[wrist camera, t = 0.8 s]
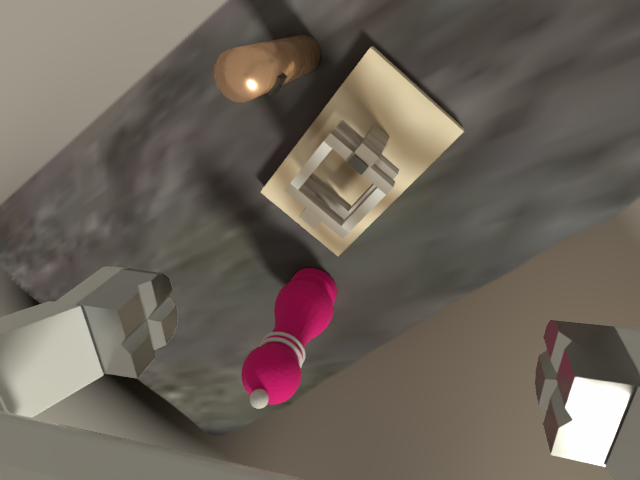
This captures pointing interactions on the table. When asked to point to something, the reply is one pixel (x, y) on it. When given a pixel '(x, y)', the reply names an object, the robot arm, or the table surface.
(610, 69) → the table surface
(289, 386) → the pepper mill
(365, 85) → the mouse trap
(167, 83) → the table surface
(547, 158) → the table surface
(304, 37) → the brown rounded cylinder
